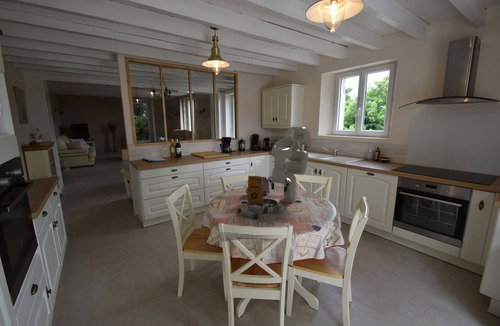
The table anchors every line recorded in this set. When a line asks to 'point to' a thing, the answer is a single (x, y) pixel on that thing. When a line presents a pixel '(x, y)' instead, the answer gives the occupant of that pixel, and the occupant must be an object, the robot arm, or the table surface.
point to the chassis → (252, 211)
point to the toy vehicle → (265, 186)
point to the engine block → (278, 209)
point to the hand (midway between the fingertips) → (278, 190)
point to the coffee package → (255, 190)
